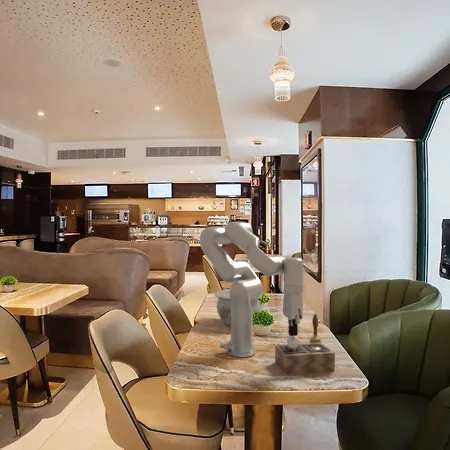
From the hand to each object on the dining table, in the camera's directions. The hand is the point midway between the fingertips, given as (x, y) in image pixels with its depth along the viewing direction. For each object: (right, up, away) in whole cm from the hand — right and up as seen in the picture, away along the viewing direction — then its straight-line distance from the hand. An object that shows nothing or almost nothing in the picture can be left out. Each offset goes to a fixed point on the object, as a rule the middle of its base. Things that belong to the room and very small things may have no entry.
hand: (293, 335), depth 139 cm
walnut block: (+5, -13, +1) cm, 14 cm away
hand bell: (+14, -13, +20) cm, 28 cm away
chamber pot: (-19, -12, +61) cm, 65 cm away
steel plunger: (0, -8, 0) cm, 8 cm away
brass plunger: (+10, -13, +2) cm, 16 cm away
